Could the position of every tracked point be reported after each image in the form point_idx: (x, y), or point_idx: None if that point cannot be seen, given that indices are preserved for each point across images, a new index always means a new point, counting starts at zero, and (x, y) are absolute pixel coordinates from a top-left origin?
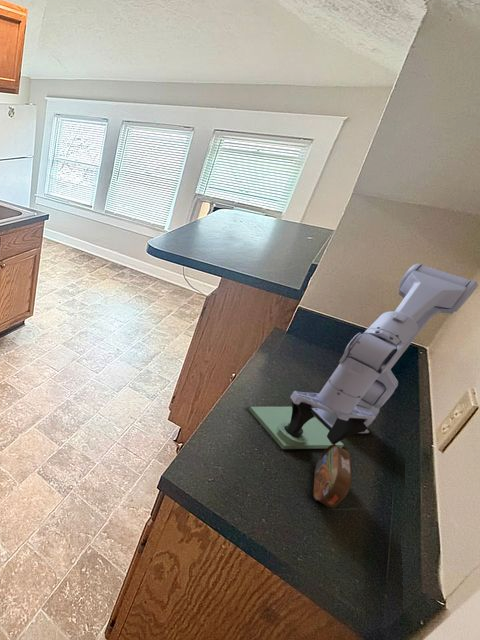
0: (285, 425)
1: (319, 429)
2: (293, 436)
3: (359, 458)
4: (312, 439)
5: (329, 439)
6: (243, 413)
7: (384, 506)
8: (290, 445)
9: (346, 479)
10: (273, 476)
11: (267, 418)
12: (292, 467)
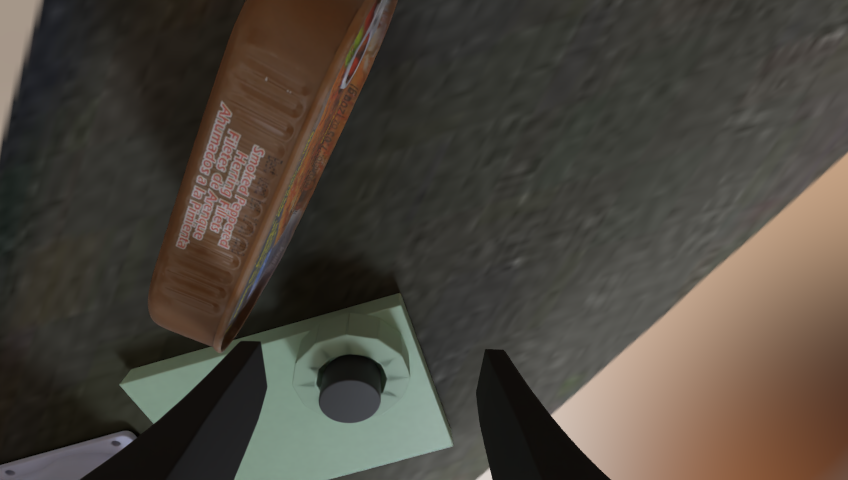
0: None
1: None
2: (360, 357)
3: (66, 341)
4: None
5: (262, 369)
6: None
7: (15, 103)
8: (372, 314)
9: (277, 26)
10: (513, 135)
11: (409, 414)
12: (397, 211)
